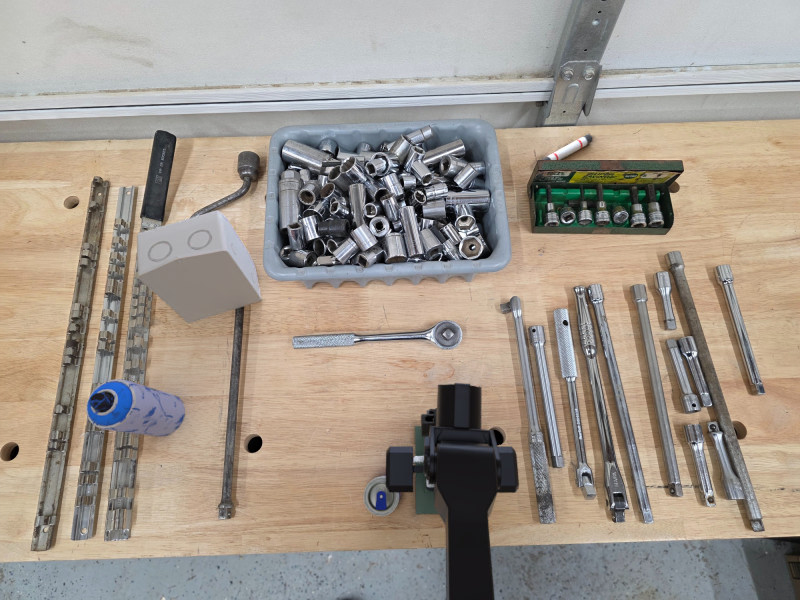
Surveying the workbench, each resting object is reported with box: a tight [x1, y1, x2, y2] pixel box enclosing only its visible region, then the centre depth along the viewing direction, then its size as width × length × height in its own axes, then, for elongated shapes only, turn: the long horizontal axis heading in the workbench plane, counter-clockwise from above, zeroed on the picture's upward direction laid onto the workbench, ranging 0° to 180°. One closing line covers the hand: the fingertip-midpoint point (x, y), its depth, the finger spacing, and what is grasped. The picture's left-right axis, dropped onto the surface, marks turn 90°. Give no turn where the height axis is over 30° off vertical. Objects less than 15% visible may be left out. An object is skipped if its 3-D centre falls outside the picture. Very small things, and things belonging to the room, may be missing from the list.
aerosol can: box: [85, 378, 186, 438], centre depth 73 cm, size 8×8×20 cm
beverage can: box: [362, 475, 402, 517], centre depth 70 cm, size 5×5×15 cm
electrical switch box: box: [136, 210, 263, 324], centre depth 84 cm, size 15×15×20 cm
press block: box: [414, 425, 439, 515], centre depth 76 cm, size 14×10×4 cm
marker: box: [541, 133, 593, 161], centre depth 99 cm, size 15×2×2 cm, turn 121°
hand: (446, 468), depth 73 cm, fingers closed
